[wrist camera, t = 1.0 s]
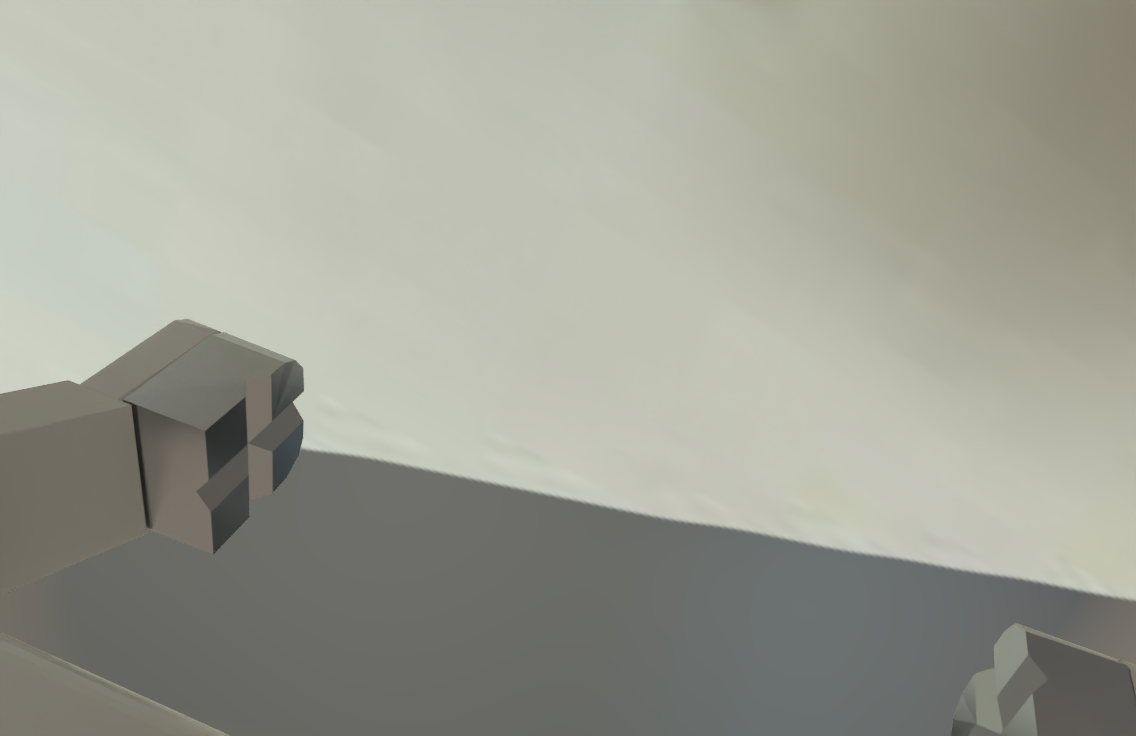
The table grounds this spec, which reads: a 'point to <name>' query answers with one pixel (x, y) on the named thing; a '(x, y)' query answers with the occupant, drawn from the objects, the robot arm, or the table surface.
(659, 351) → the table surface
